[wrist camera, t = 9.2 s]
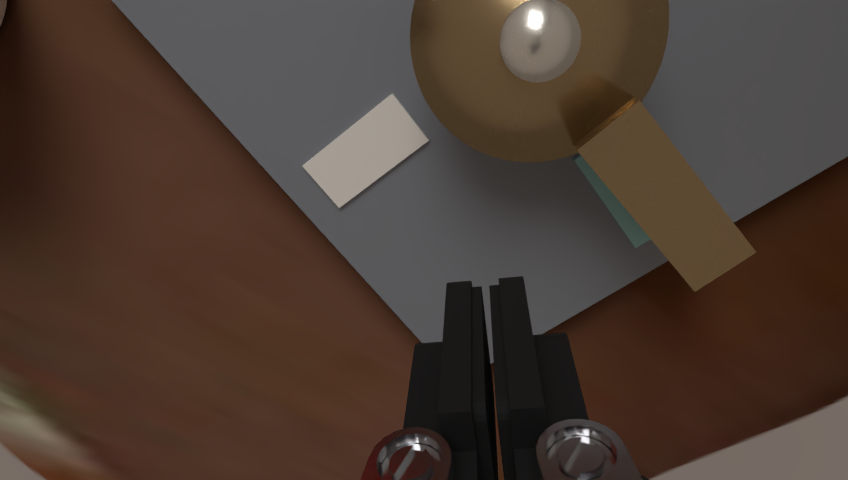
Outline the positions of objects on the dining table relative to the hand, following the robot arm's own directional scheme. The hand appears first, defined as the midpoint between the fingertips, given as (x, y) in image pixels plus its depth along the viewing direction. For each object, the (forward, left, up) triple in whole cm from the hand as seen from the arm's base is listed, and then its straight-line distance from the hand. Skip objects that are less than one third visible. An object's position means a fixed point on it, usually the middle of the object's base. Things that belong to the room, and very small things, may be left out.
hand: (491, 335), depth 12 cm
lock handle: (-5, 0, -12) cm, 13 cm away
